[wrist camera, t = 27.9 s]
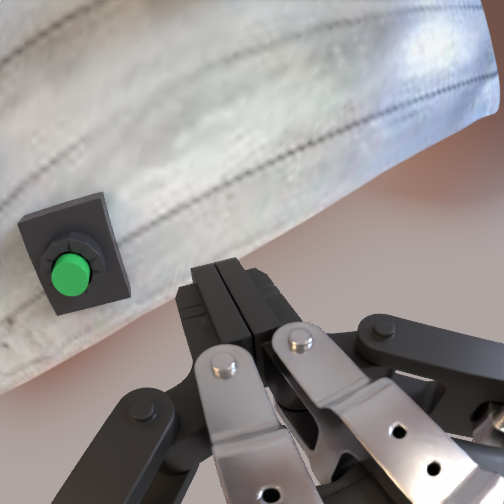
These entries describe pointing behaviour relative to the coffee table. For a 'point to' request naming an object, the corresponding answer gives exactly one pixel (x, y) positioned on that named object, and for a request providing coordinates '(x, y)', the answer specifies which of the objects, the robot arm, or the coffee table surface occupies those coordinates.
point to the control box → (76, 251)
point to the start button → (71, 274)
